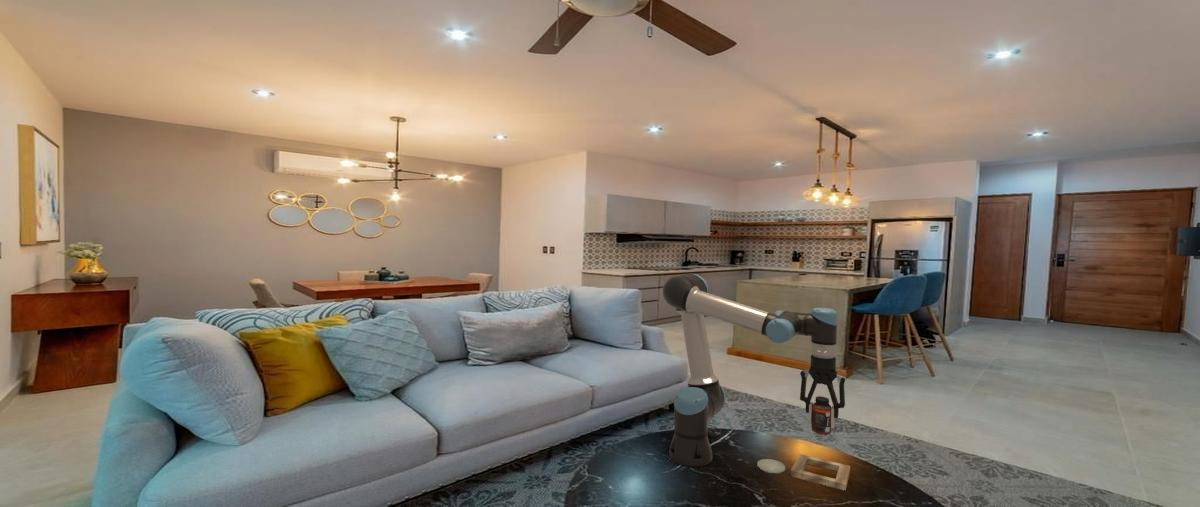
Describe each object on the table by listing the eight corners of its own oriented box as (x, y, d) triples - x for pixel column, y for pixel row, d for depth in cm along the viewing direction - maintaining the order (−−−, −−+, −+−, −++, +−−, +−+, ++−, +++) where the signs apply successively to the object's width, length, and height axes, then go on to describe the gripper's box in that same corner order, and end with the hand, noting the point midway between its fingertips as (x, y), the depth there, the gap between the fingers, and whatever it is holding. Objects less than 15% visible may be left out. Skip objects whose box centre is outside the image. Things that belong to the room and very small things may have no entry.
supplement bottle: (833, 436, 154) (834, 402, 153) (813, 434, 155) (814, 400, 155) (828, 428, 160) (829, 395, 159) (809, 427, 161) (810, 394, 160)
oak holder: (790, 476, 157) (791, 470, 157) (799, 459, 168) (799, 453, 168) (845, 490, 148) (845, 484, 148) (850, 471, 160) (850, 465, 160)
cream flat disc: (754, 468, 162) (754, 467, 162) (761, 458, 169) (761, 456, 169) (781, 476, 157) (781, 474, 157) (787, 465, 164) (787, 463, 164)
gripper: (790, 353, 158) (788, 422, 159) (854, 362, 148) (852, 435, 149) (794, 349, 165) (793, 415, 166) (857, 357, 154) (854, 427, 155)
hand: (821, 424), depth 157 cm, fingers closed on supplement bottle, 6 cm apart
